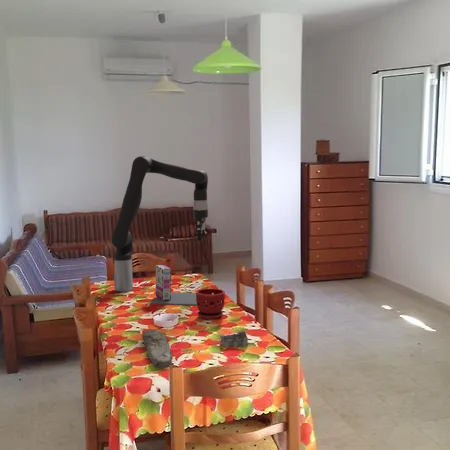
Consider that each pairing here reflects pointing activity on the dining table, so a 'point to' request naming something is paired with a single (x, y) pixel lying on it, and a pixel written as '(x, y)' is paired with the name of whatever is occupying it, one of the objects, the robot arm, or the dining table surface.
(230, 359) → the dining table surface
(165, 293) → the candy bar box
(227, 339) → the egg carton
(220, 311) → the plant pot
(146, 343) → the long grey stone
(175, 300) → the rubber mat
